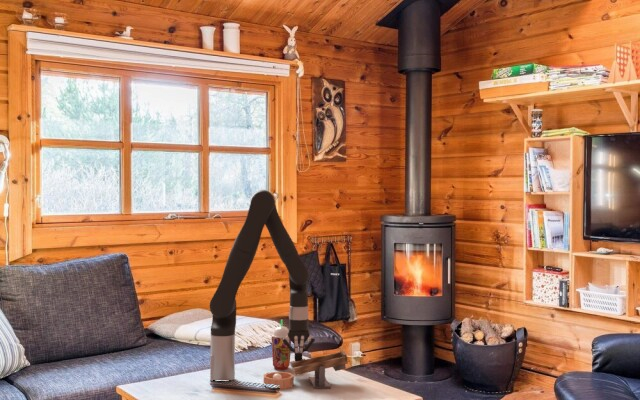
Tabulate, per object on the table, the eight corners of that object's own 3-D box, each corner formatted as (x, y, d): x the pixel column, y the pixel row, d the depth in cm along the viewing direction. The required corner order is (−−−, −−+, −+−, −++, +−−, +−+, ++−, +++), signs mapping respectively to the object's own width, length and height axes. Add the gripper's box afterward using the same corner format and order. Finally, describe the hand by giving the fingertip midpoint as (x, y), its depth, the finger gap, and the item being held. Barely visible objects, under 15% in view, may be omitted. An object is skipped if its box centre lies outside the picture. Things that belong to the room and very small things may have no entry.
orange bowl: (264, 389, 262) (264, 379, 262) (262, 381, 273) (262, 372, 273) (294, 388, 264) (294, 379, 264) (291, 380, 275) (291, 371, 275)
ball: (277, 386, 267) (271, 379, 266) (276, 383, 270) (270, 376, 270) (284, 379, 267) (278, 372, 267) (283, 377, 270) (277, 370, 270)
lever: (296, 380, 265) (293, 366, 265) (291, 369, 282) (288, 355, 281) (348, 368, 268) (346, 354, 268) (340, 358, 285) (338, 345, 284)
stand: (314, 389, 263) (314, 367, 263) (309, 379, 277) (309, 358, 277) (330, 388, 264) (330, 366, 264) (324, 378, 278) (324, 358, 278)
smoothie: (282, 372, 288) (282, 322, 288) (266, 368, 293) (267, 319, 293) (295, 368, 294) (296, 319, 294) (280, 365, 300) (280, 317, 299)
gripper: (282, 319, 273) (282, 365, 273) (317, 318, 275) (316, 364, 275) (280, 316, 281) (280, 360, 281) (314, 315, 283) (314, 359, 283)
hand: (298, 362), depth 278 cm, fingers closed
